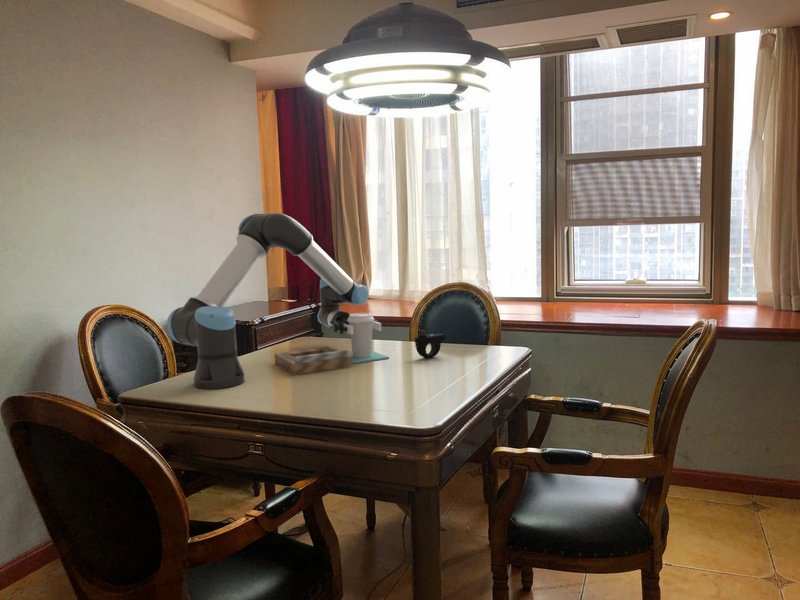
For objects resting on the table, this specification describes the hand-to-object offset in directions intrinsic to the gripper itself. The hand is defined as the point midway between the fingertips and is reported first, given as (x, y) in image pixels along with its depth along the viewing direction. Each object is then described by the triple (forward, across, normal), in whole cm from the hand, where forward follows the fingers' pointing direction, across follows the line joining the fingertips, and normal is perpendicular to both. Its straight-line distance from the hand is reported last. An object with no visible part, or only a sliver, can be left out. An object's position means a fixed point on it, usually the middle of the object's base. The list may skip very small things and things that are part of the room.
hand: (366, 328), depth 223 cm
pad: (-4, 0, -11) cm, 12 cm away
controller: (+10, -20, -11) cm, 25 cm away
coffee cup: (-4, 0, -11) cm, 12 cm away
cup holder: (-4, +19, -11) cm, 22 cm away
